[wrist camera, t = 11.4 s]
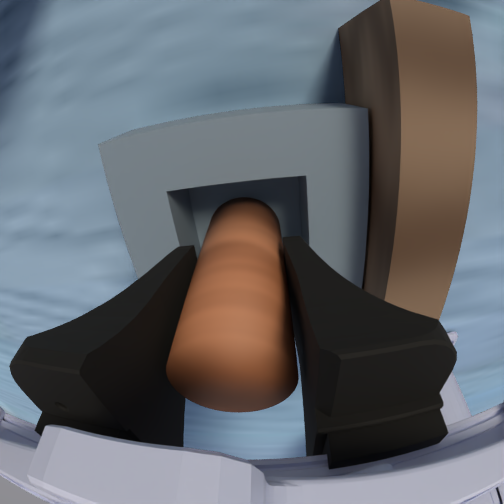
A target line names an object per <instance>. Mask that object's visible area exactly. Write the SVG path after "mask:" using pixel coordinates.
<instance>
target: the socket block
mask: <svg viewBox="0 0 504 504" xmlns="http://www.w3.org/2000/svg"><path fill="white" fill-rule="evenodd" d="M98 146H99V150H100V154H101V159H102V163H103V167H104V171H105V175H106V178H107V182H108V186H109V190H110V193H111V197H112V200H113V204H114V207H115V211H116V214H117V217H118V220H119V224H120V227H121V230H122V233H123V236H124V239H125V242H126V245H127V248H128V251H129V254H130V257H131V260H132V263H133V265H134V268H135V271H136V274H137V276H138V279H139V278H140V277H142V276H143V275H144V274H145V273H147V272H148V271H149V270H150V269H151V268H153V267H154V266H155V265H156V264H157V263H158V262H160V261H161V260H162V259H163V258H164V257H165V256H167V255H168V254H169V253H170V252H171V251H173V250H174V249H175V248H177V247H179V246H189V245H194V247H195V251H196V255H197V260H198V257H199V254H200V251H201V248H202V245H203V242H204V239H205V236H206V233H207V230H208V227H209V224H210V221H211V218H212V216H213V214H214V212H215V211H216V210H217V208H218V207H219V206H221V205H222V204H223V203H225V202H227V201H229V200H231V199H234V198H239V197H249V198H254V199H258V200H260V201H262V202H264V203H266V204H267V205H268V206H269V207H271V208H272V209H273V211H274V212H275V213H276V215H277V217H278V219H279V223H280V229H281V236H282V243H283V237H290V236H301V237H302V238H303V239H304V241H305V242H306V243H307V244H308V245H309V246H310V247H311V248H312V249H313V250H314V252H315V253H316V254H317V255H318V256H319V257H320V258H322V259H323V260H324V261H325V262H326V263H327V264H328V265H329V266H330V267H331V268H332V269H334V270H335V271H336V272H337V273H339V274H340V275H341V276H343V277H344V278H345V279H347V280H349V281H350V282H352V283H353V284H355V285H356V286H358V287H359V288H361V289H362V283H363V273H364V263H365V251H366V238H367V222H368V200H369V125H368V108H364V107H359V106H354V105H349V104H344V103H318V104H297V105H283V106H271V107H260V108H251V109H242V110H235V111H227V112H220V113H214V114H207V115H201V116H195V117H190V118H184V119H179V120H174V121H169V122H164V123H160V124H155V125H151V126H147V127H142V128H138V129H134V130H131V131H129V132H126V133H124V134H121V135H119V136H117V137H114V138H112V139H109V140H107V141H105V142H102V143H100V144H98Z"/></svg>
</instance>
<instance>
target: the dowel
mask: <svg viewBox="0 0 504 504" xmlns="http://www.w3.org/2000/svg"><path fill="white" fill-rule="evenodd" d="M166 373H167V377H168V380H169V381H170V383H171V385H172V386H173V387H174V388H175V389H176V390H177V391H178V392H179V393H180V394H181V395H182V396H184V397H185V398H187V399H188V400H190V401H192V402H194V403H196V404H199V405H201V406H204V407H207V408H210V409H214V410H219V411H226V412H251V411H258V410H262V409H266V408H269V407H272V406H274V405H277V404H279V403H280V402H282V401H284V400H285V399H286V398H288V397H289V396H290V395H291V394H292V393H293V391H294V390H295V388H296V386H297V384H298V367H297V357H296V348H295V339H294V330H293V322H292V313H291V305H290V297H289V289H288V281H287V275H286V269H285V261H284V250H283V243H282V236H281V229H280V223H279V219H278V217H277V215H276V213H275V212H274V211H273V209H272V208H271V207H269V206H268V205H267V204H266V203H264V202H262V201H260V200H258V199H254V198H249V197H239V198H234V199H231V200H229V201H227V202H225V203H223V204H222V205H221V206H219V207H218V208H217V210H216V211H215V212H214V214H213V216H212V218H211V221H210V224H209V227H208V230H207V233H206V236H205V239H204V242H203V245H202V248H201V251H200V254H199V257H198V260H197V263H196V266H195V270H194V273H193V276H192V279H191V282H190V286H189V289H188V292H187V295H186V299H185V302H184V305H183V309H182V312H181V315H180V319H179V322H178V326H177V329H176V332H175V336H174V339H173V343H172V347H171V350H170V354H169V357H168V361H167V365H166Z"/></svg>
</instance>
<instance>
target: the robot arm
mask: <svg viewBox="0 0 504 504" xmlns="http://www.w3.org/2000/svg"><path fill="white" fill-rule="evenodd" d="M283 250H284V261H285V269H286V275H287V281H288V289H289V297H290V305H291V313H292V322H293V330H294V337H295V342H296V347H297V351H298V357H299V363H300V373H301V383H302V395H303V408H304V422H305V438H306V457H297V458H283V459H262V460H245V459H242V458H238V457H234V456H231V455H227V454H224V453H221V452H214V451H207V450H199V449H193V448H187V447H183V433H184V411H185V397H184V396H182V395H181V394H180V393H179V392H178V391H177V390H176V389H175V388H174V387H173V386H172V385H171V383H170V381H169V380H168V377H167V373H166V365H167V361H168V357H169V354H170V350H171V347H172V343H173V339H174V336H175V332H176V329H177V326H178V322H179V319H180V315H181V312H182V309H183V305H184V302H185V299H186V295H187V292H188V289H189V286H190V282H191V279H192V276H193V273H194V270H195V266H196V263H197V255H196V251H195V247H194V245H189V246H179V247H177V248H175V249H174V250H173V251H171V252H170V253H169V254H168V255H167V256H165V257H164V258H163V259H162V260H161V261H160V262H158V263H157V264H156V265H155V266H154V267H153V268H151V269H150V270H149V271H148V272H147V273H145V274H144V275H143V276H142V277H140V278H139V279H138V280H137V281H135V282H134V283H133V284H131V285H130V286H129V287H128V288H126V289H125V290H124V291H122V292H121V293H119V294H118V295H116V296H115V297H113V298H112V299H110V300H109V301H107V302H105V303H104V304H102V305H100V306H98V307H97V308H95V309H93V310H91V311H89V312H88V313H86V314H84V315H82V316H80V317H78V318H76V319H74V320H72V321H70V322H67V323H65V324H63V325H60V326H58V327H55V328H53V329H50V330H47V331H44V332H41V333H38V334H35V335H33V336H29V337H27V338H26V339H25V340H24V342H23V344H22V345H21V347H20V348H19V350H18V351H17V353H16V355H15V356H14V358H13V359H12V361H11V363H10V371H11V374H12V376H13V378H14V380H15V382H16V383H17V384H18V386H19V387H20V388H21V389H22V391H23V392H24V393H25V394H26V395H27V396H28V397H29V398H30V399H31V400H32V401H33V403H34V404H35V405H36V406H37V407H38V408H39V409H40V410H41V411H42V414H41V416H40V419H39V421H38V423H37V425H35V424H32V423H29V422H27V421H24V420H22V419H19V418H17V417H14V416H12V415H9V414H7V413H5V412H4V410H3V409H2V408H1V407H0V475H1V476H2V477H3V478H5V479H7V480H8V481H10V482H12V483H13V484H15V485H17V486H18V487H20V488H22V489H24V490H26V491H27V492H29V493H31V494H33V495H35V496H37V497H38V498H41V499H42V500H44V501H47V502H48V503H51V504H504V402H503V403H501V404H499V405H497V406H495V407H493V408H490V409H488V410H486V411H484V412H481V413H479V414H477V415H474V416H472V415H471V413H470V410H469V408H468V406H467V403H466V401H465V399H464V396H463V394H462V392H461V389H460V387H459V385H458V383H457V381H456V378H455V376H454V374H453V372H452V370H453V368H454V365H455V363H456V360H457V352H456V350H455V348H454V344H455V342H456V340H457V338H458V335H457V333H456V332H450V333H447V332H446V331H445V329H444V328H443V326H442V325H441V323H440V322H439V320H438V319H435V318H432V317H428V316H425V315H421V314H418V313H415V312H411V311H408V310H406V309H403V308H401V307H398V306H396V305H393V304H391V303H388V302H386V301H384V300H382V299H380V298H378V297H376V296H374V295H372V294H370V293H368V292H366V291H364V290H363V289H361V288H359V287H358V286H356V285H355V284H353V283H352V282H350V281H349V280H347V279H345V278H344V277H343V276H341V275H340V274H339V273H337V272H336V271H335V270H334V269H332V268H331V267H330V266H329V265H328V264H327V263H326V262H325V261H324V260H323V259H322V258H320V257H319V256H318V255H317V254H316V253H315V252H314V250H313V249H312V248H311V247H310V246H309V245H308V244H307V243H306V242H305V241H304V239H303V238H302V237H301V236H290V237H283Z"/></svg>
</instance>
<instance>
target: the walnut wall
mask: <svg viewBox="0 0 504 504" xmlns="http://www.w3.org/2000/svg"><path fill="white" fill-rule="evenodd" d="M338 30H339V38H340V46H341V55H342V65H343V76H344V89H345V103H346V104H349V105H354V106H359V107H364V108H368V125H369V200H368V222H367V238H366V251H365V263H364V273H363V283H362V289H363V290H364V291H366V292H368V293H370V294H372V295H374V296H376V297H378V298H380V299H382V300H384V301H386V302H388V303H391V304H393V305H396V306H398V307H401V308H403V309H406V310H408V311H411V312H415V313H418V314H421V315H425V316H428V317H432V318H435V319H438V320H439V318H440V315H441V313H442V310H443V307H444V304H445V301H446V297H447V294H448V291H449V288H450V284H451V281H452V278H453V274H454V270H455V267H456V263H457V259H458V255H459V251H460V247H461V242H462V238H463V233H464V228H465V223H466V218H467V213H468V207H469V201H470V194H471V187H472V179H473V171H474V161H475V149H476V131H477V83H476V66H475V54H474V45H473V37H472V30H471V23H470V17H469V16H468V15H465V14H462V13H459V12H456V11H453V10H450V9H447V8H443V7H440V6H436V5H433V4H429V3H425V2H421V1H417V0H380V1H378V2H377V3H375V4H374V5H372V6H370V7H369V8H367V9H366V10H364V11H363V12H361V13H360V14H358V15H357V16H355V17H354V18H352V19H351V20H350V21H348V22H347V23H345V24H344V25H342V26H341V27H340V28H338Z"/></svg>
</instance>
